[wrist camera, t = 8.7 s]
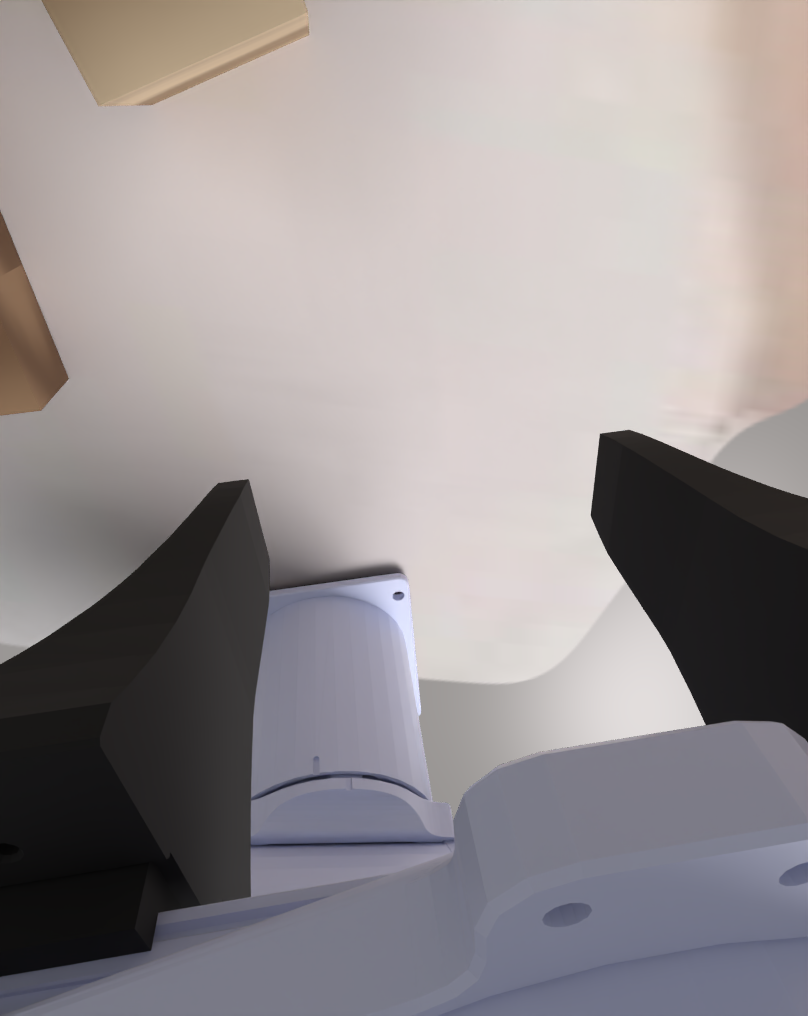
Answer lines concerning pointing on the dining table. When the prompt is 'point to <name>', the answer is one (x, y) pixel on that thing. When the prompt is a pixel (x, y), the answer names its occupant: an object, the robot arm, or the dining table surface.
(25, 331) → the socket block
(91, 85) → the wooden cube block
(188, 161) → the dining table surface
